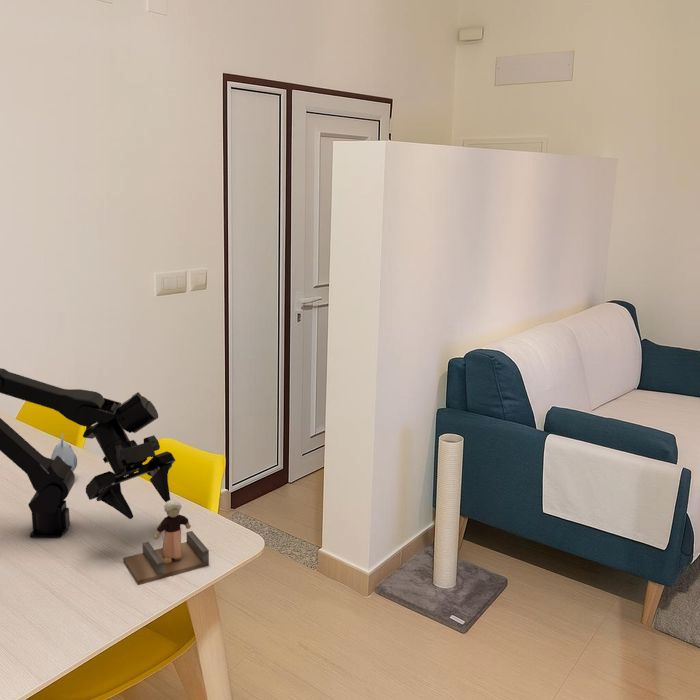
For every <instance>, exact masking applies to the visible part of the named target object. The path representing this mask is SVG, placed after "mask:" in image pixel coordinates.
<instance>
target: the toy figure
mask: <svg viewBox="0 0 700 700" xmlns="http://www.w3.org/2000/svg"><path fill="white" fill-rule="evenodd" d="M60 437H61V438H60V442H59V443H56V444H55V446H54V449H53V450H52V453H51V455H50V456H51V457H50V459H52V460H54V459H55V457H56V456H59V457H61V459H62V460H63V461H64V462H65V463H66V464H67V465H69V466H72V468H71V470H72V472H73V473H74V471H75V470H76V468H77V466H78V457H77V454H76V453H75V451H74V450H73V448H72V445H71V444H70V443H68V442H65V440H64V434H63V433H61V436H60Z"/></svg>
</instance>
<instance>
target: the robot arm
mask: <svg viewBox="0 0 700 700" xmlns="http://www.w3.org/2000/svg"><path fill="white" fill-rule="evenodd" d="M0 394H2V395H6V396H10V397H12V398H16V399H19V400H22V401H25V402H29V403H31V404H33V405H34V404H36V405H38V406H41V407H45V408H46V409H47V408H48V409H52V410H53V411H56V412H58V413H60V415H62V416H63V417H64V418H65V419H67V420H69V421H71V422H73V423H75V424H78V425H79V426H82V427H85V430H84V432H83V434H82V437H83V438H84V439H89V440H90V439H94V438H95V440H96V441H97V443H98V445H99V447H100V448H101V450H102V452H103V455H104V456H103V458H102V460H103V462H104V463H105V464H106V463H108V464H109V466H110V468H111V469H112V471H110V470H108V471H105V472H103V473H100V474H97V475H95V476H94V477H92V479H91V480H90V481H89V482H88V484H86V486H85V494H86V496H87V497H88V499H89V500H90V501H91V500H93V499H96V501H97V502H100V501H101V502H103V503H105V504H107V505H108V506H110V507H111V508H113V509H115V510H116V511H118V512H119V513H121V514H122V515H124V516H125V517H126V518H127V519H129V520H132V519H133V518H134V514H133V512H132V509H131V507H130V506H129V503H128V502H127V500H126V498H125V497H124V495H123V492H122V488H121V483H123V482H126V481H129V480H131V479H134V478H137V477H140V476H143V475H145V474H146V475H147V476H149V477H151V478H150V479H149V482H150V483H151V485H152V486H153V488H155V490H156V492H157V493H158V494H159V496H160V497H161V499H162V501H164V502H165V503H166V502H167V501H169V500H171V495H170V487H169V478H168V477H169V470H170V469H171V468H172V467H173V464H174V463H175V462H176V458H175V457H174V455H173V454H172V452H170V451H167V450H166V451H163V452H160V453H158V454H156V453H155V452H156V451H158V450H160V448H161V447H160V442H159V440H158V438H157V437H156V436H155V435H154V434H153V435H151V436H147V437H145V438H143V443H140V444H137V441H135V440H134V439H132V440H130V439H129V437H128V435H127V433H129V434H130V433H134V434H136V433H137V432H139V431H141V430H142V429H143V428H145V427H147V426H148V425H149V424H151V423H152V422H154V421H156V420H158V418H159V413H158V411H157V409H156V406H155V405H154V403H152V402H151V400H149V399H147V398H146V397H145V396H142V394H141V393H140V392H136V393H134V394H132V395H131V397H130V398H128V399H127V400H126V401H124V402H122V403H121V401H116V400H112V399H109V398H106V397H104V396H103V395H102V394H101V393H99V392H97V391H93V390H87V389H81V388H79V389H78V388H77V389H76V388H75V389H71V388H70V389H68V388H62V387H59V386H56V385H52V384H49V383H45V382H43V381H39V380H37V379H33V378H30V377H27V376H24V375H20V374H17V373H13V372H10V371H8V370H7V369H5V368H1V367H0ZM126 432H127V433H126ZM0 452H1V453H2V454H3V455H5V457H7V458H8V459H9V460H10V461H11V462H12V463H14V465H16V466H17V467H18V468H20V470H22V471H23V472H24V473H25V474H26V476H27V478H28V480H29V482H30V483H31V486H32V488H33V490H34V491H35V493H34V494H33V497H32V498H31V499H30V501H29V503H28V505H27V506H28V507H29V510H30V511H31V523H32V531H31V532H30V534H29V537H31V538H61V537H63V535H64V533H65V532H66V531H67V530H68V528H69V526H70V525H71V518H70V508H69V507H67V500H66V499H67V497H68V496H69V494H70V492H71V490H72V488H73V486H74V484H75V481H76V480H75V479H76V478H75V477H76V476H75V473H74V471H73V472H72V470H71V468H72V466H69V465H67V464H66V463H65V462H64V461H63V460H62V459H61V457H59V456H56V457H55V459H54V460H52V459H51V458H50V457H47V456H44V455H43V454H41V453H40V452H39V451H38V450H37V449H36V448H35V447H34V446H33V445H32V444H30V443H29V442H28V441H27V440H26V439H25V438H23V436H21V435H20V434H19V433H18V432H17V431H16V430H15V429H13V428H12V427H11V426H10V425H9V424H8V423H7V422H5V420H4V419H2V418H1V417H0ZM148 458H150V460H149V461H148V462H147V463H146V461H147V460H148Z"/></svg>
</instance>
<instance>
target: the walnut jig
mask: <svg viewBox="0 0 700 700" xmlns="http://www.w3.org/2000/svg"><path fill="white" fill-rule="evenodd" d="M209 551H210V550H209V549H208V548H207V546H205V545H204V543H203V542H202V541H201V539H199V537H198V536H197V535H196V534H195V532H193V530H189V531H187V532H186V541H185V542H181V554H182V555H183V558H182V559H180V560H175V559H173V558H171V559H172V562H171V563H168V564H164V562H163V561H162V559H161V558H162V557H163V556H162V547H159V548H158V549H155V548H154V547H153V545H152V544H151V543H150V542H149V541H144V542H142V552H141V553H136V554H132V555H129V556H125V557H123V558H122V562H123V563H124V565H125V566H126V568H127V569H128V571H129V573H130V574H131V576H132V577H133V579H134V581H135V582H136V584H137V585H143V584H145V583H149V582H152V581H156V580H160V579H163V578H167V577H171V576H174V575H179V574H181V573H185V572H189V571H190V572H191V571H193V570H196V569H200V568H203V567H209V566H210V564H209V562H210V559H209V558H210V555H209V554H210V552H209Z"/></svg>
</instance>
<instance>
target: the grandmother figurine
mask: <svg viewBox="0 0 700 700" xmlns="http://www.w3.org/2000/svg"><path fill="white" fill-rule="evenodd" d="M163 508H164V512H166V515H167V516H166V517H164V518H163V520H162V521H161V522H160V524H159V525H158V526H157V528H156V531H155V534H154V536H153V539H154V540H159V538H160V536H161V534H162V533H164V534H163V540H162V547H161V548H162V556H163V557H162V558H161V559H162V561H163V562H164V564H168V563H171V562H172V559H171V558H173V559H175V560H180V559H182V558H183V555H182V554H181V543H182V528H181V525H184V526H185V529H187V530H189V529H191V526H192V525H191V524H190V521H189V518H188V517H187V516H185V515H182V514H180V511H181V509H182V504H181V502H180V501H179V500H176V499H173V498H172V499H170V500H169V501H167V502H165V504H164V505H163Z"/></svg>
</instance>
